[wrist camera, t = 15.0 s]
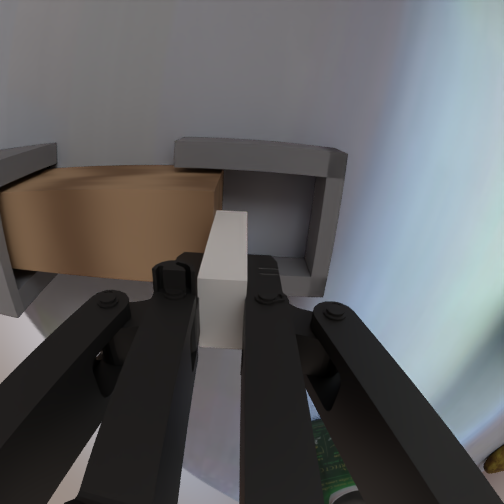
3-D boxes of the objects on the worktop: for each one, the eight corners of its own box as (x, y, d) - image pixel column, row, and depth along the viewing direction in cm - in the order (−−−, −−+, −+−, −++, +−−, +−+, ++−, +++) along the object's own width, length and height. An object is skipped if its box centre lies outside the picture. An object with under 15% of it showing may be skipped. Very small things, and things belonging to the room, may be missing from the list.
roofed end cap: (56, 142, 17) (-16, 165, 11) (69, 261, 21) (18, 318, 14) (-2, 150, 17) (-70, 175, 10) (14, 256, 21) (-39, 303, 14)
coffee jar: (291, 452, 32) (305, 590, 15) (288, 419, 29) (305, 589, 12) (369, 438, 32) (403, 568, 15) (379, 402, 28) (428, 558, 12)
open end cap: (335, 148, 18) (348, 154, 16) (315, 277, 22) (323, 297, 19) (183, 137, 18) (174, 141, 15) (183, 270, 21) (176, 289, 19)
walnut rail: (223, 166, 18) (214, 191, 13) (221, 236, 20) (212, 285, 15) (30, 170, 18) (-24, 194, 12) (38, 228, 20) (-9, 265, 14)
